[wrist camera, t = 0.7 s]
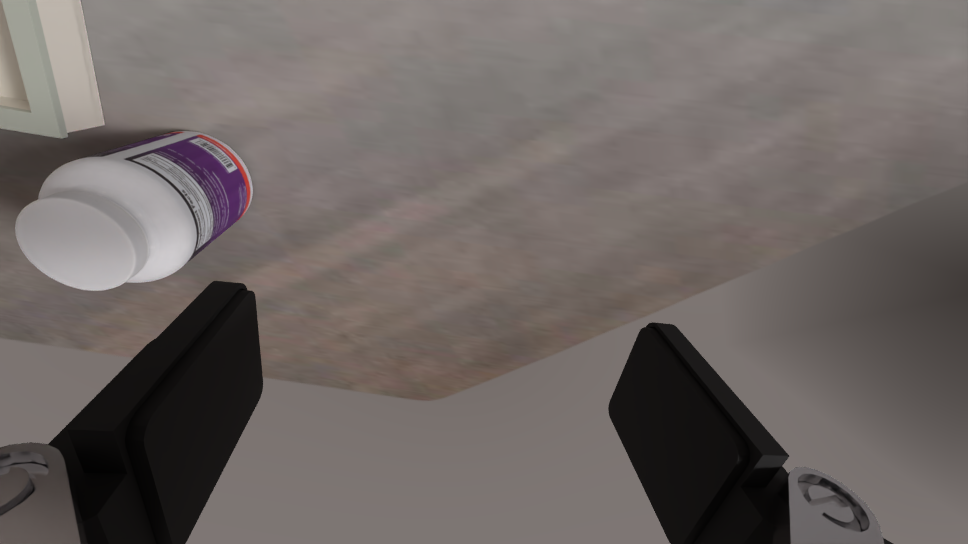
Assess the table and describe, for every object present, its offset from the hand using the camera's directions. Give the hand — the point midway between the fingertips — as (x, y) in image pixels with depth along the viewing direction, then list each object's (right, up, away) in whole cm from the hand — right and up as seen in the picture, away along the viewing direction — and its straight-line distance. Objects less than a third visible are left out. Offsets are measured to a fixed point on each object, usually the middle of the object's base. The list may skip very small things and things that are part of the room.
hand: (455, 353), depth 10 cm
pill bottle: (-23, +10, +25) cm, 35 cm away
